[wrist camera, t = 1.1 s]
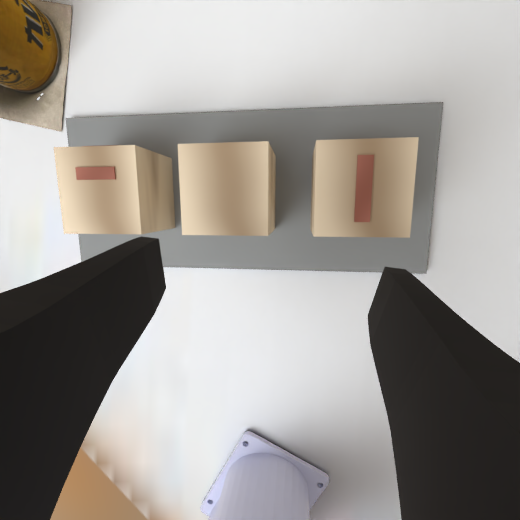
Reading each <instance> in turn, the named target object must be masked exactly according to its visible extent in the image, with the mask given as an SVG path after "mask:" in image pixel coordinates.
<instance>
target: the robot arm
mask: <svg viewBox="0 0 520 520" xmlns="http://www.w3.org/2000/svg"><path fill="white" fill-rule="evenodd" d="M165 289H166V285H165V278H164V271H163V264H162V257H161V250H160V243H159V239H158V238H150V237H142V236H141V237H138V238H135V239H132V240H130V241H127V242H125V243H123V244H120V245H118V246H116V247H114V248H111V249H109V250H107V251H105V252H103V253H100V254H98V255H96V256H94V257H92V258H89V259H87V260H85V261H83V262H81V263H78V264H76V265H73V266H71V267H69V268H66V269H64V270H61V271H59V272H57V273H54V274H52V275H49V276H47V277H45V278H42V279H39V280H37V281H34V282H31V283H29V284H26V285H23V286H20V287H17V288H14V289H11V290H8V291H5V292H2V293H0V520H50V518H51V515H52V513H53V511H54V508H55V506H56V503H57V501H58V498H59V496H60V493H61V491H62V488H63V486H64V483H65V481H66V479H67V477H68V474H69V472H70V470H71V467H72V465H73V463H74V460H75V458H76V456H77V454H78V451H79V449H80V447H81V445H82V442H83V440H84V438H85V436H86V434H87V432H88V430H89V427H90V425H91V423H92V421H93V419H94V417H95V415H96V413H97V411H98V409H99V407H100V405H101V403H102V401H103V399H104V397H105V395H106V393H107V391H108V389H109V387H110V385H111V383H112V381H113V379H114V378H115V376H116V374H117V372H118V371H119V369H120V367H121V366H122V364H123V363H124V361H125V360H126V358H127V356H128V355H129V353H130V352H131V350H132V349H133V347H134V345H135V344H136V342H137V341H138V339H139V338H140V336H141V334H142V333H143V331H144V330H145V328H146V326H147V325H148V323H149V322H150V320H151V318H152V317H153V315H154V313H155V311H156V309H157V307H158V305H159V303H160V301H161V298H162V296H163V294H164V291H165ZM368 325H369V336H370V344H371V349H372V353H373V357H374V362H375V366H376V370H377V374H378V378H379V382H380V386H381V390H382V394H383V399H384V403H385V407H386V411H387V415H388V420H389V425H390V430H391V437H392V444H393V451H394V458H395V465H396V474H397V482H398V490H399V499H400V507H401V517H402V520H520V363H519V362H518V361H516V360H515V359H513V358H512V357H510V356H509V355H508V354H506V353H505V352H504V351H502V350H501V349H500V348H498V347H497V346H496V345H494V344H493V343H492V342H491V341H489V340H488V339H487V338H486V337H484V336H483V335H482V334H480V333H479V332H478V331H477V330H475V329H474V328H473V327H472V326H471V325H469V324H468V323H467V322H466V321H465V320H463V319H462V318H461V317H460V316H459V315H457V314H456V313H455V312H454V311H453V310H452V309H451V308H449V307H448V306H447V305H446V304H445V303H444V302H443V301H441V300H440V299H439V298H438V297H437V296H436V295H435V294H434V293H433V292H431V291H430V290H429V289H428V288H427V287H426V286H425V285H424V284H423V283H421V282H420V281H419V280H418V279H417V278H416V277H415V276H413V275H412V274H411V273H410V272H408V271H407V270H406V269H400V268H392V267H384V270H383V273H382V276H381V279H380V282H379V285H378V288H377V290H376V293H375V296H374V299H373V302H372V305H371V308H370V311H369V314H368ZM244 441H247V442H248V443H245V442H244ZM319 483H322V484H319ZM328 484H329V476H328V474H326V473H325V472H323V471H321V470H319V469H318V468H316V467H314V466H312V465H310V464H309V463H307V462H305V461H303V460H301V459H300V458H298V457H296V456H294V455H292V454H291V453H289V452H287V451H285V450H283V449H282V448H280V447H278V446H276V445H274V444H272V443H271V442H269V441H267V440H265V439H263V438H262V437H260V436H258V435H256V434H254V433H253V432H250V431H246V432H245V433H244V434H243V435H242V437H241V439H240V440H239V442H238V444H237V445H236V447H235V449H234V450H233V452H232V454H231V455H230V457H229V459H228V460H227V462H226V464H225V465H224V467H223V469H222V470H221V472H220V474H219V475H218V477H217V479H216V480H215V482H214V484H213V485H212V487H211V489H210V490H209V492H208V494H207V495H206V497H205V499H204V500H203V502H202V504H201V507H200V509H201V511H202V512H203V513H204V514H206V515H208V516H209V518H208V520H310V513H309V510H310V509H311V507H312V506H313V505H314V503H315V502H316V500H317V499H318V498H319V496H320V495H321V493H322V492H323V491H324V489H325V488H326V487H327V485H328ZM210 499H211V500H210Z"/></svg>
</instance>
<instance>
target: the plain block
mask: <svg viewBox="0 0 520 520" xmlns="http://www.w3.org/2000/svg"><path fill="white" fill-rule="evenodd" d="M178 163H179V183H180V204H181V224H182V235H229V236H269V235H270V234H271V233H272V232H273V231H274V230H275V186H276V156H275V154H274V152H273V150H272V148H271V146H270V144H269V142H268V141H261V142H227V143H192V144H178Z"/></svg>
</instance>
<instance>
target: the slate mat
mask: <svg viewBox="0 0 520 520" xmlns="http://www.w3.org/2000/svg"><path fill="white" fill-rule="evenodd" d="M442 110H443V102H436V103H413V104H389V105H365V106H342V107H318V108H295V109H271V110H248V111H224V112H201V113H177V114H154V115H130V116H106V117H83V118H66V126H67V135H68V144H69V147H82V146H103V145H136V146H139V147H142V148H145V149H147V150H150V151H153V152H156V153H158V154H161V155H164V156H167V157H170V158H172V173H173V192H174V210H175V228H172V229H167V230H162V231H157V232H151V233H146V234H79V244H80V253H81V262H83V261H85V260H87V259H89V258H92V257H94V256H96V255H98V254H100V253H103V252H105V251H107V250H109V249H111V248H114V247H116V246H118V245H120V244H123V243H125V242H127V241H130V240H132V239H135V238H138V237H141V236H142V237H150V238H158V239H159V243H160V250H161V257H162V264H163V267H187V268H227V269H268V270H308V271H348V272H383V270H384V267H392V268H400V269H406V270H407V271H408V272H410V273H426V272H427V261H428V251H429V241H430V231H431V221H432V211H433V201H434V191H435V181H436V171H437V161H438V150H439V140H440V130H441V120H442ZM406 137H419V140H418V151H417V163H416V174H415V186H414V197H413V209H412V220H411V232H410V238H398V237H314V236H313V234H312V232H311V229H310V226H311V189H312V155H313V151H314V147H315V144H316V140H337V139H372V138H406ZM261 141H268V142H269V144H270V146H271V148H272V150H273V152H274V154H275V156H276V186H275V230H274V231H273V232H272V233H271V234H270V235H269V236H229V235H182V224H181V204H180V183H179V163H178V144H192V143H227V142H261Z"/></svg>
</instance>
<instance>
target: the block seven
mask: <svg viewBox="0 0 520 520" xmlns="http://www.w3.org/2000/svg"><path fill="white" fill-rule="evenodd" d="M54 154H55V162H56V170H57V179H58V187H59V195H60V204H61V212H62V221H63V229H64V234H146V233H151V232H157V231H162V230H167V229H172V228H175V210H174V192H173V173H172V158H170V157H167V156H164V155H161V154H158V153H156V152H153V151H150V150H147V149H145V148H142V147H139V146H136V145H103V146H82V147H54Z"/></svg>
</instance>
